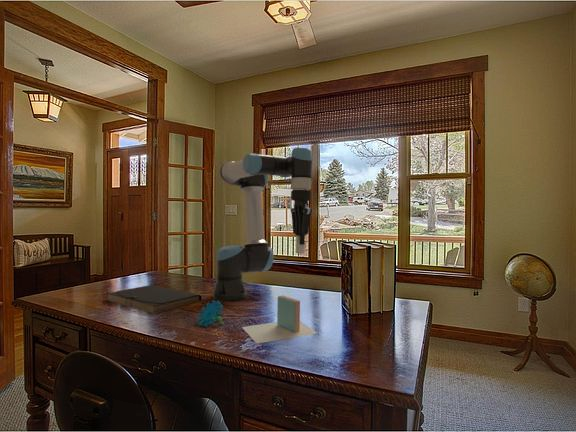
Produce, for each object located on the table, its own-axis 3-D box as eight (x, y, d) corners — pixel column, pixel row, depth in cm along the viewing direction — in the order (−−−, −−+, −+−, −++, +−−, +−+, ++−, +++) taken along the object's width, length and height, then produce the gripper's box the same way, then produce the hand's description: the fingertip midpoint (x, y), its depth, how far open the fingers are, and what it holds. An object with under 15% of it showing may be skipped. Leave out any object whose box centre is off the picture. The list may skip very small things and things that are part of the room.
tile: (282, 323, 115) (282, 295, 115) (299, 331, 108) (299, 300, 108) (276, 325, 113) (277, 296, 113) (294, 332, 106) (294, 302, 106)
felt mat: (241, 328, 111) (241, 327, 111) (297, 320, 120) (297, 319, 120) (256, 344, 97) (256, 343, 97) (317, 334, 106) (317, 333, 106)
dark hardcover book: (106, 292, 142) (155, 283, 163) (106, 301, 142) (155, 291, 163) (153, 305, 125) (201, 293, 145) (153, 315, 125) (201, 302, 145)
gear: (191, 318, 116) (210, 295, 120) (201, 326, 119) (219, 304, 123) (207, 331, 108) (227, 306, 112) (217, 339, 111) (236, 315, 115)
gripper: (319, 189, 117) (317, 254, 118) (301, 191, 129) (300, 250, 130) (300, 188, 114) (299, 255, 115) (284, 190, 126) (283, 251, 127)
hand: (300, 253), depth 122 cm, fingers closed
